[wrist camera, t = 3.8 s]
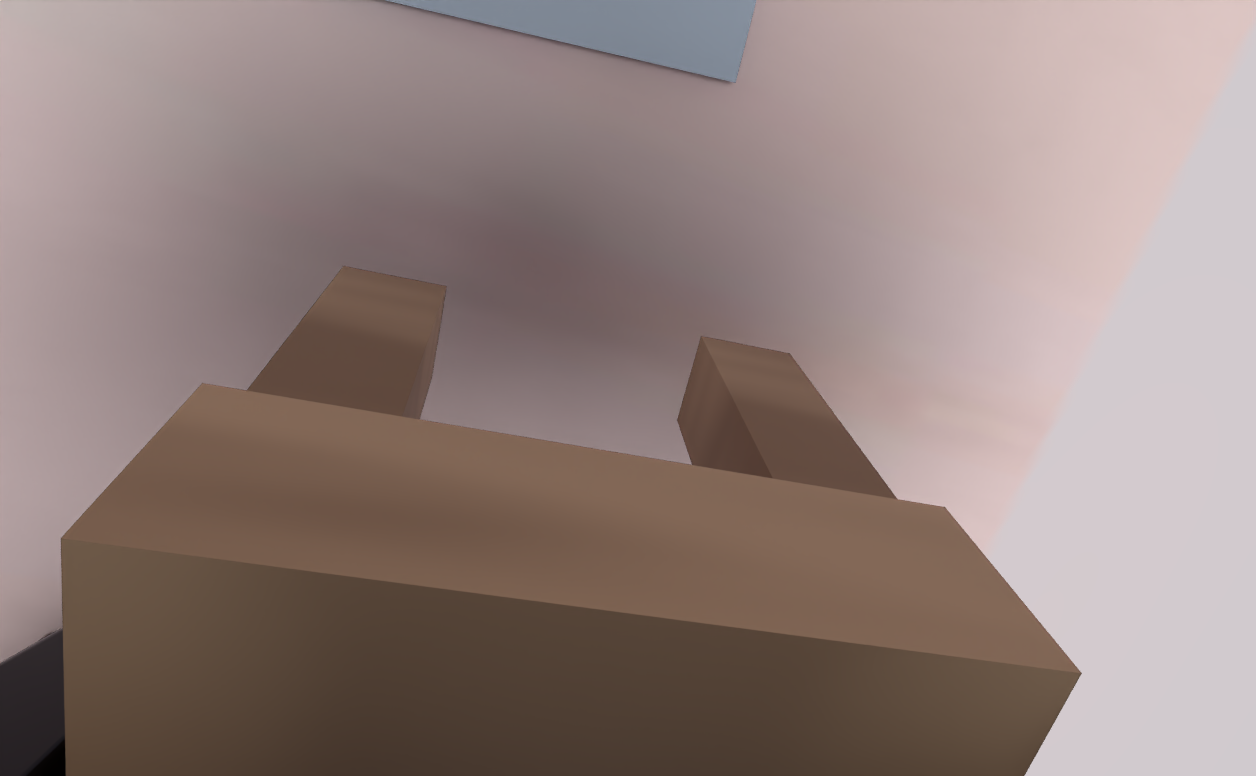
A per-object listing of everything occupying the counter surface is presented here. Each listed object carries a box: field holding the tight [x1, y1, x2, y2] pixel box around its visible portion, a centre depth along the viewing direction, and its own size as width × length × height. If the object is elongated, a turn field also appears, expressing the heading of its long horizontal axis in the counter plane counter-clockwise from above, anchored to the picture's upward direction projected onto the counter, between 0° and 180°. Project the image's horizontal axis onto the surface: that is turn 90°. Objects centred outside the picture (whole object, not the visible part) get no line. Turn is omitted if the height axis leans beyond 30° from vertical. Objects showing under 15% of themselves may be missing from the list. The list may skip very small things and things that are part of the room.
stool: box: [61, 266, 1082, 776], centre depth 9 cm, size 6×6×6 cm
